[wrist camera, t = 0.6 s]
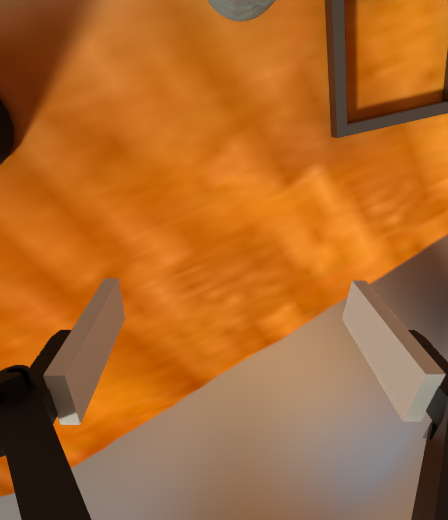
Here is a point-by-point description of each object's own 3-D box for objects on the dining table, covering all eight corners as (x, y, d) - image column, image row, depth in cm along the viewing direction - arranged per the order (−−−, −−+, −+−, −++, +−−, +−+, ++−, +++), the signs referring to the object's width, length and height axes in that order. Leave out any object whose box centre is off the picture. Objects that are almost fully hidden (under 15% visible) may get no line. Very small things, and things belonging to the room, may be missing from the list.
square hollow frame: (324, -12, 30) (331, -20, 29) (470, -51, 29) (486, -61, 28) (331, 136, 37) (337, 138, 35) (451, 109, 36) (463, 109, 34)
